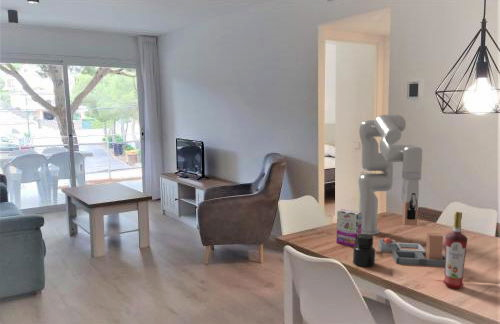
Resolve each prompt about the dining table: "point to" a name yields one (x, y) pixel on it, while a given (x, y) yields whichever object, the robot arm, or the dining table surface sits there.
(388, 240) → the red egg shape
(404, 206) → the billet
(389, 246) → the grey square holder
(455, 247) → the liquor
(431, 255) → the block
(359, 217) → the candy bar box
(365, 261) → the ink bottle
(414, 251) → the light grey square frame
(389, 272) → the dining table surface
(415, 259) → the grey two-slot rack
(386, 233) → the dining table surface
